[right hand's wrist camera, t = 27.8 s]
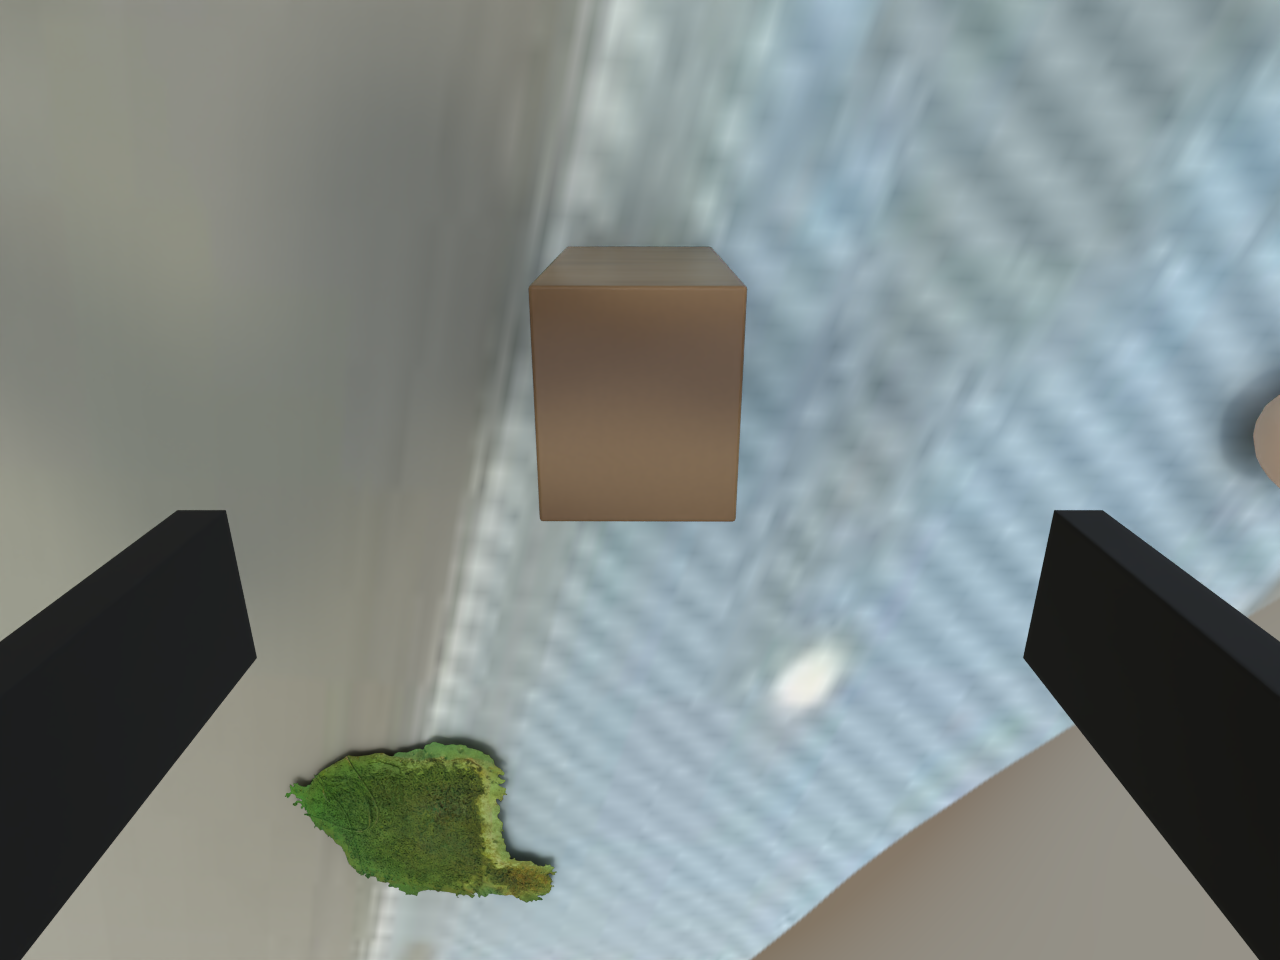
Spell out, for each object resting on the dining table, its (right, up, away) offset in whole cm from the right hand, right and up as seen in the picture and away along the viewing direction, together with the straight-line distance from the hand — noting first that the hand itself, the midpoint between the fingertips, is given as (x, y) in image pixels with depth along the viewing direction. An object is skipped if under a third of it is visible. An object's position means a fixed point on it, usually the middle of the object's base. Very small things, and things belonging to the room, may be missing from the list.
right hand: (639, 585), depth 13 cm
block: (0, +8, +20) cm, 22 cm away
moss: (-11, -17, +30) cm, 36 cm away
